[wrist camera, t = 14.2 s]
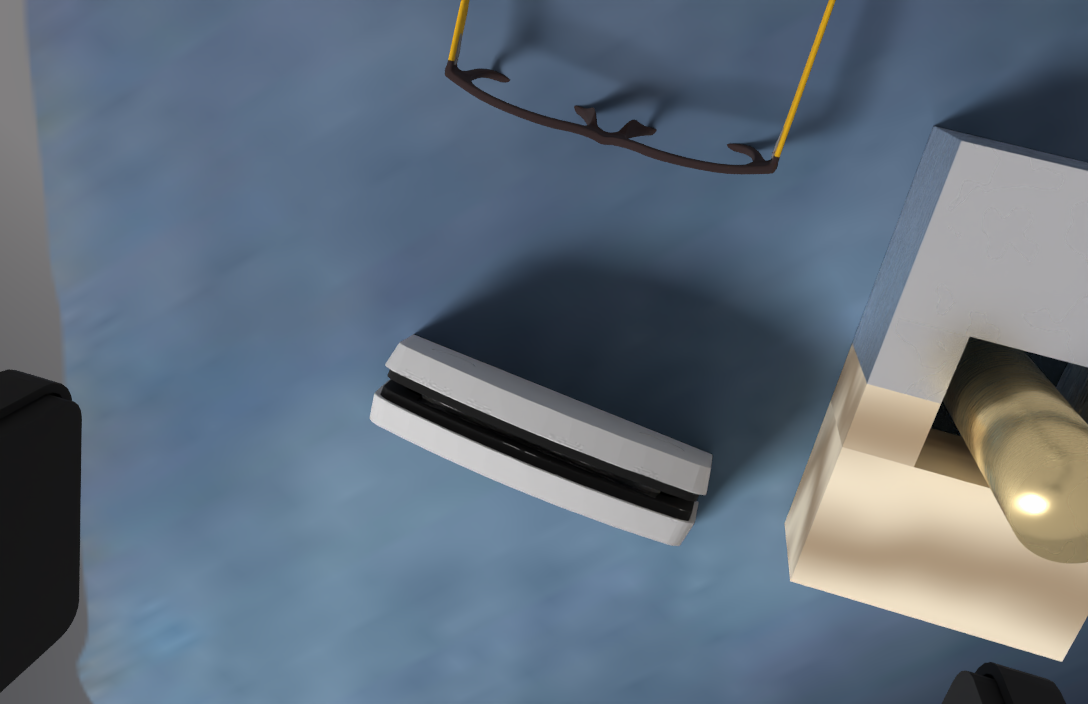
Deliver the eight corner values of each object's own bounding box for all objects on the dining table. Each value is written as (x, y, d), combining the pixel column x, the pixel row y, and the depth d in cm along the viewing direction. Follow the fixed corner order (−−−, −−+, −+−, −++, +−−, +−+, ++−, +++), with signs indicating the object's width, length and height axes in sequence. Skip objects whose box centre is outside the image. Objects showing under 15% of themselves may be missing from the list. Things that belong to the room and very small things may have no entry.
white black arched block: (384, 415, 47) (322, 439, 37) (416, 332, 47) (363, 333, 37) (679, 536, 46) (697, 593, 36) (714, 452, 46) (741, 486, 36)
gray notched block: (933, 126, 37) (961, 140, 33) (1232, 197, 36) (1305, 223, 31) (852, 343, 41) (866, 383, 36) (1120, 414, 40) (1170, 466, 35)
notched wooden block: (852, 343, 41) (866, 383, 36) (1120, 414, 40) (1170, 466, 35) (784, 523, 45) (790, 580, 40) (1027, 594, 44) (1061, 661, 39)
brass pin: (955, 325, 40) (1039, 441, 29) (1047, 349, 39) (1167, 476, 28) (922, 403, 41) (990, 543, 30) (1010, 427, 41) (1110, 577, 30)
